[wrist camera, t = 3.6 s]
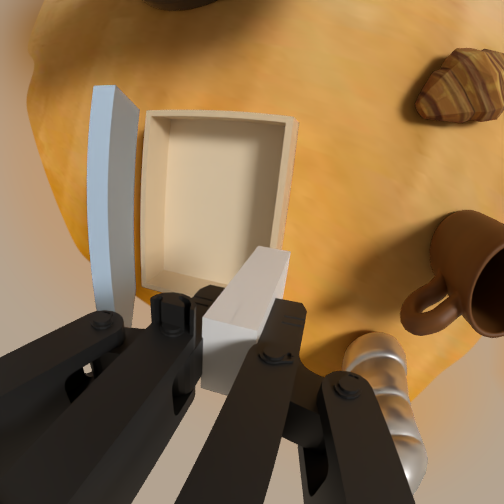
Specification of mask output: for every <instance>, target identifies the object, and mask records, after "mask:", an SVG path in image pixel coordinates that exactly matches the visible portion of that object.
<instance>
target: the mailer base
mask: <svg viewBox="0 0 504 504" xmlns="http://www.w3.org/2000/svg"><path fill="white" fill-rule="evenodd" d="M298 128H299V122H298V121H297V120H296V119H295V118H294V117H291V116H283V115H273V114H263V113H251V112H236V111H217V110H147V111H146V121H145V131H144V144H143V158H142V176H141V209H140V245H141V277H142V287H145V288H148V289H152V290H155V291H159V292H163V293H167V292H175V293H182V294H185V295H187V296H190V297H191V298H192V297H194V295H195V294H196V293H197V291H198V290H199V289H201V288H203V287H206V286H208V285H215V286H219V287H223V288H226V286H227V285H228V284H229V283H230V281H231V280H232V279H233V277H234V276H235V275H236V274H237V272H238V271H239V270H240V269H241V267H242V266H243V265H244V263H245V262H246V261H247V260H248V258H249V257H250V256H251V254H252V253H253V252H254V251H255V249H256V248H257V247H258V246H263V247H269V248H274V249H279V250H282V244H283V238H284V231H285V224H286V217H287V210H288V203H289V196H290V189H291V182H292V174H293V167H294V159H295V152H296V144H297V136H298Z"/></svg>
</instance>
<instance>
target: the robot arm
mask: <svg viewBox="0 0 504 504" xmlns="http://www.w3.org/2000/svg"><path fill="white" fill-rule="evenodd" d="M142 1H144V2H145V3H147V4H149V5H150V6H152V7H155V8H158V9H162V10H186V9H192V8H196V7H200V6H203V5H207V4H209V3H212V2H215V1H217V0H142ZM290 253H291V252H290V251H284V250H279V249H274V248H269V247H263V246H258V247H257V248H256V249H255V251H254V252H253V253H252V254H251V256H250V257H249V258H248V260H247V261H246V262H245V263H244V265H243V266H242V267H241V269H240V270H239V271H238V272H237V274H236V275H235V276H234V277H233V279H232V280H231V281H230V283H229V284H228V285H227V286H226V288H223V287H219V286H215V285H208V286H206V287H203V288H201V289H199V290H198V291H197V293H196V294H195V295H194V297H192V298H191V297H190V296H187V295H185V294H182V293H175V292H167V293H161V294H157V295H155V296H153V297H151V298H150V301H151V318H152V323H151V324H150V325H149V326H148V327H147V328H146V329H138V328H129V327H124V321H123V317H122V316H121V315H120V314H118V313H116V312H113V311H107V310H102V311H95V312H92V313H90V314H87V315H85V316H83V317H81V318H79V319H77V320H75V321H73V322H71V323H69V324H67V325H65V326H63V327H61V328H59V329H57V330H55V331H53V332H51V333H49V334H46V335H44V336H42V337H41V338H38V339H36V340H34V341H32V342H30V343H28V344H26V345H24V346H22V347H20V348H18V349H16V350H14V351H12V352H10V353H8V354H6V355H4V356H2V357H0V504H131V503H132V501H133V500H134V498H135V497H136V495H137V493H138V492H139V490H140V488H141V487H142V485H143V484H144V482H145V480H146V479H147V477H148V475H149V474H150V472H151V470H152V469H153V467H154V466H155V464H156V462H157V461H158V459H159V457H160V455H161V454H162V452H163V451H164V449H165V447H166V446H167V444H168V442H169V441H170V439H171V437H172V435H173V434H174V432H175V430H176V429H177V427H178V425H179V424H180V422H181V420H182V418H183V417H184V415H185V413H186V412H187V410H188V408H189V407H190V405H191V403H192V401H193V400H194V397H195V385H196V384H197V382H198V380H199V379H200V377H201V388H203V389H207V390H210V391H213V392H217V393H221V394H224V395H227V398H226V400H225V403H224V405H223V407H222V409H221V411H220V413H219V415H218V417H217V419H216V421H215V424H214V426H213V428H212V430H211V432H210V434H209V436H208V438H207V440H206V442H205V444H204V446H203V448H202V450H201V452H200V454H199V456H198V458H197V460H196V462H195V464H194V466H193V468H192V470H191V472H190V474H189V476H188V478H187V480H186V482H185V484H184V486H183V488H182V490H181V491H180V494H179V496H178V497H177V499H176V501H175V503H174V504H263V502H264V499H265V496H266V492H267V489H268V485H269V482H270V478H271V475H272V471H273V468H274V464H275V460H276V456H277V453H278V449H279V445H280V441H281V437H283V438H285V439H287V440H289V441H291V442H294V443H296V444H298V453H299V462H300V471H301V480H302V489H303V499H304V504H415V501H414V498H413V495H412V492H411V489H410V486H409V483H408V480H407V477H406V474H405V472H404V469H403V466H402V463H401V460H400V458H399V455H398V452H397V449H396V447H395V444H394V441H393V439H392V436H391V434H390V431H389V428H388V426H387V423H386V421H385V418H384V415H383V413H382V410H381V408H380V405H379V403H378V401H377V398H376V396H375V393H374V391H373V388H372V386H371V385H370V384H369V382H368V381H367V380H366V379H365V378H363V377H362V376H360V375H358V374H356V373H353V372H348V371H336V372H332V373H330V374H328V375H326V376H325V378H324V377H322V376H319V375H317V374H315V373H313V372H311V371H310V370H308V369H307V368H306V367H305V366H304V365H303V364H302V362H301V360H300V358H299V351H300V346H301V341H302V335H303V330H304V324H305V319H306V313H307V311H306V309H305V307H304V305H303V304H302V303H298V302H293V301H288V300H283V293H284V288H285V282H286V276H287V271H288V265H289V259H290ZM88 363H90V365H91V368H92V372H90V373H87V374H86V373H84V370H83V367H84V366H85V365H87V364H88Z"/></svg>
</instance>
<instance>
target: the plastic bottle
mask: <svg viewBox="0 0 504 504" xmlns="http://www.w3.org/2000/svg"><path fill="white" fill-rule="evenodd" d="M342 371H348V372H353V373H356V374H358V375H360V376H362V377H363V378H365V379H366V380H367V381H368V382H369V384H370V385H371V386H372V388H373V391H374V393H375V396H376V398H377V401H378V403H379V405H380V408H381V410H382V413H383V415H384V418H385V421H386V423H387V426H388V428H389V431H390V434H391V436H392V439H393V441H394V444H395V447H396V449H397V452H398V455H399V458H400V460H401V463H402V466H403V469H404V472H405V474H406V477H407V480H408V483H409V486H410V489H411V492H412V495H413V494H414V493H415V492H416V490H417V489H418V486H419V485H420V483H421V481H422V479H423V477H424V475H425V473H426V468H427V462H428V458H427V454H426V449H425V446H424V444H423V441H422V439H421V436H420V433H419V431H418V428H417V425H416V423H415V419H414V415H413V411H412V408H411V404H410V400H409V396H408V387H407V378H406V376H407V362H406V354H405V352H404V350H403V348H402V347H401V345H400V343H399V342H398V341H397V339H395V338H394V337H393V336H391V335H389V334H386V333H380V332H372V333H368V334H365V335H362V336H360V337H359V338H357V339H356V340H354V341H353V342H352V343H351V344H350V345H349V347H348V348H347V350H346V352H345V355H344V358H343V363H342Z"/></svg>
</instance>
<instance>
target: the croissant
mask: <svg viewBox="0 0 504 504" xmlns="http://www.w3.org/2000/svg"><path fill="white" fill-rule="evenodd" d="M415 107H416V110H417V112H418V113H419V115H420V116H421V117H422V118H423V119H431V120H439V121H449V122H458V123H464V122H466V121H468V120H475V121H479V122H483V121H489V120H495V119H497V118H498V117H499V116H500V114H501V113H502V112H503V111H504V53H500V52H496V51H492V50H488V49H483V50H481V51H480V50H476V49H472V48H456V49H455V50H454V51H453V52H452V53H451V54H450V55H449V56H448V57H447V58H446V59H445V61H444V63H443V65H442V67H441V68H440V69H439V70H436V71H434V72H433V73H432V74H431V76H430V77H429V79H428V81H427V82H426V84H425V85H424V87H423V89H422V91H421V93H420V95H419V97H418V99H417V101H416V103H415Z"/></svg>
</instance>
